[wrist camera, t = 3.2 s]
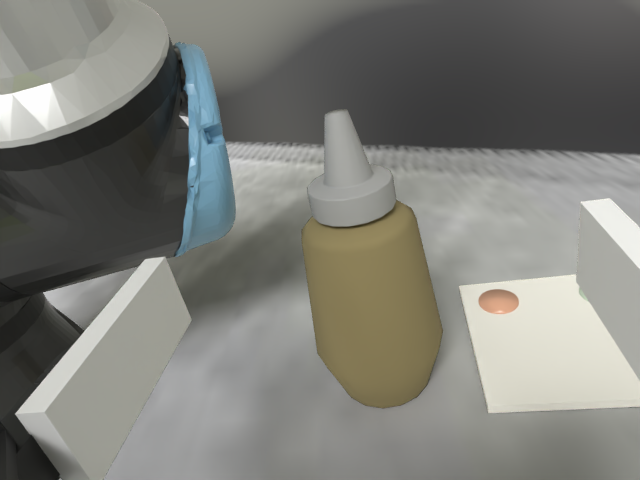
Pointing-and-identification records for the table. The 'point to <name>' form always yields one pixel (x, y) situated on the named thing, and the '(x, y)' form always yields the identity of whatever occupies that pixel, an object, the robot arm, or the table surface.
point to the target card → (544, 348)
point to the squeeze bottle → (367, 276)
